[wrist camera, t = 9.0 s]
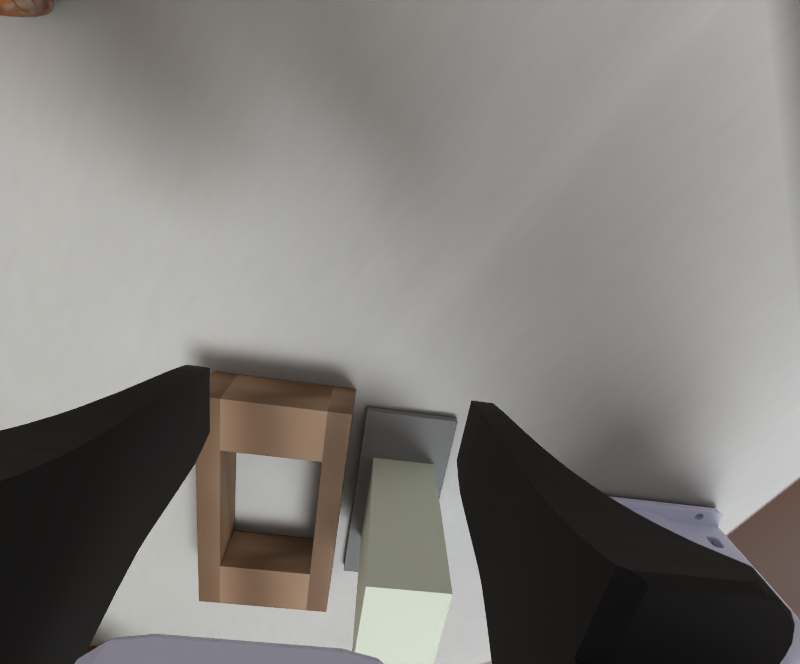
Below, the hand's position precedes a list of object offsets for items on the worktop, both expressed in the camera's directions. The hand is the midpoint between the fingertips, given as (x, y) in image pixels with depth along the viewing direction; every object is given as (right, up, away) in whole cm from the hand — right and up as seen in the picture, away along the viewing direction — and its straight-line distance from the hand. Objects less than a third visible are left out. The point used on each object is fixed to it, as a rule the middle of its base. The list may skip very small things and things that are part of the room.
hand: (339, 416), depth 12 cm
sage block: (+1, -8, +14) cm, 16 cm away
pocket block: (-5, -7, +14) cm, 16 cm away
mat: (+1, -8, +14) cm, 16 cm away
